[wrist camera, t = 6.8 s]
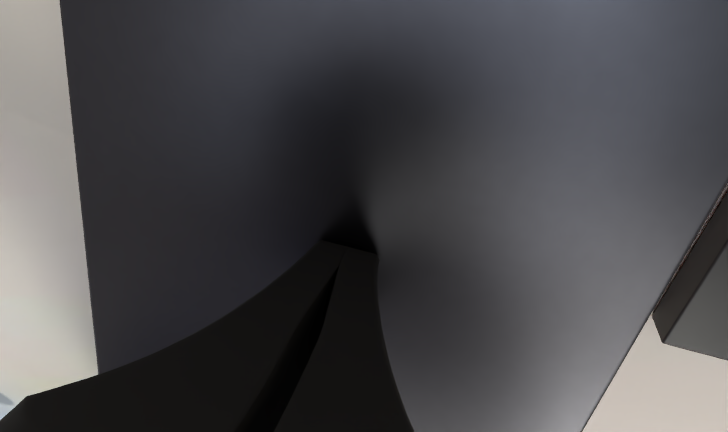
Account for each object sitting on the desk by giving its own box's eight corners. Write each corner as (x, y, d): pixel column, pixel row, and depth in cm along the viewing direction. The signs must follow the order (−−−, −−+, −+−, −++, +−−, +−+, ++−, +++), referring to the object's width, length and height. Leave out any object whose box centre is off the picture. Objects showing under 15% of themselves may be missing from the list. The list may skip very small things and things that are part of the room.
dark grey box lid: (514, 521, 16) (515, 548, 16) (117, 404, 17) (102, 424, 17) (829, -43, 8) (860, -39, 8) (68, -198, 9) (35, -206, 9)
